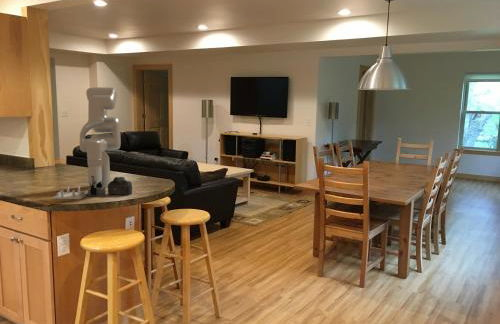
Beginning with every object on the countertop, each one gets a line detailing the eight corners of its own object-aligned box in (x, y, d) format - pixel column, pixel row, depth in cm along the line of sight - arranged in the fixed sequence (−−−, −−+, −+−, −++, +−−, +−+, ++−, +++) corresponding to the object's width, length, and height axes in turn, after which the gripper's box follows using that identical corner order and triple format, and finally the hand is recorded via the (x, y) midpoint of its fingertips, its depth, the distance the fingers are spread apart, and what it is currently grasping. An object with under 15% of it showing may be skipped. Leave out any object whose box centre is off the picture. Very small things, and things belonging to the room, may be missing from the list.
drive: (89, 195, 233) (88, 187, 233) (105, 194, 236) (105, 187, 235) (87, 197, 229) (87, 189, 228) (105, 196, 231) (104, 188, 230)
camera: (133, 191, 241) (133, 174, 240) (131, 195, 231) (130, 178, 230) (109, 192, 239) (109, 175, 238) (106, 196, 230) (105, 178, 228)
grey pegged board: (61, 194, 234) (61, 186, 233) (88, 193, 235) (88, 186, 234) (52, 199, 222) (51, 191, 222) (80, 199, 223) (80, 190, 222)
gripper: (93, 160, 237) (94, 189, 240) (82, 165, 220) (84, 196, 223) (106, 160, 238) (108, 189, 240) (96, 165, 221) (98, 196, 223)
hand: (96, 192), depth 232 cm, fingers open, 9 cm apart
